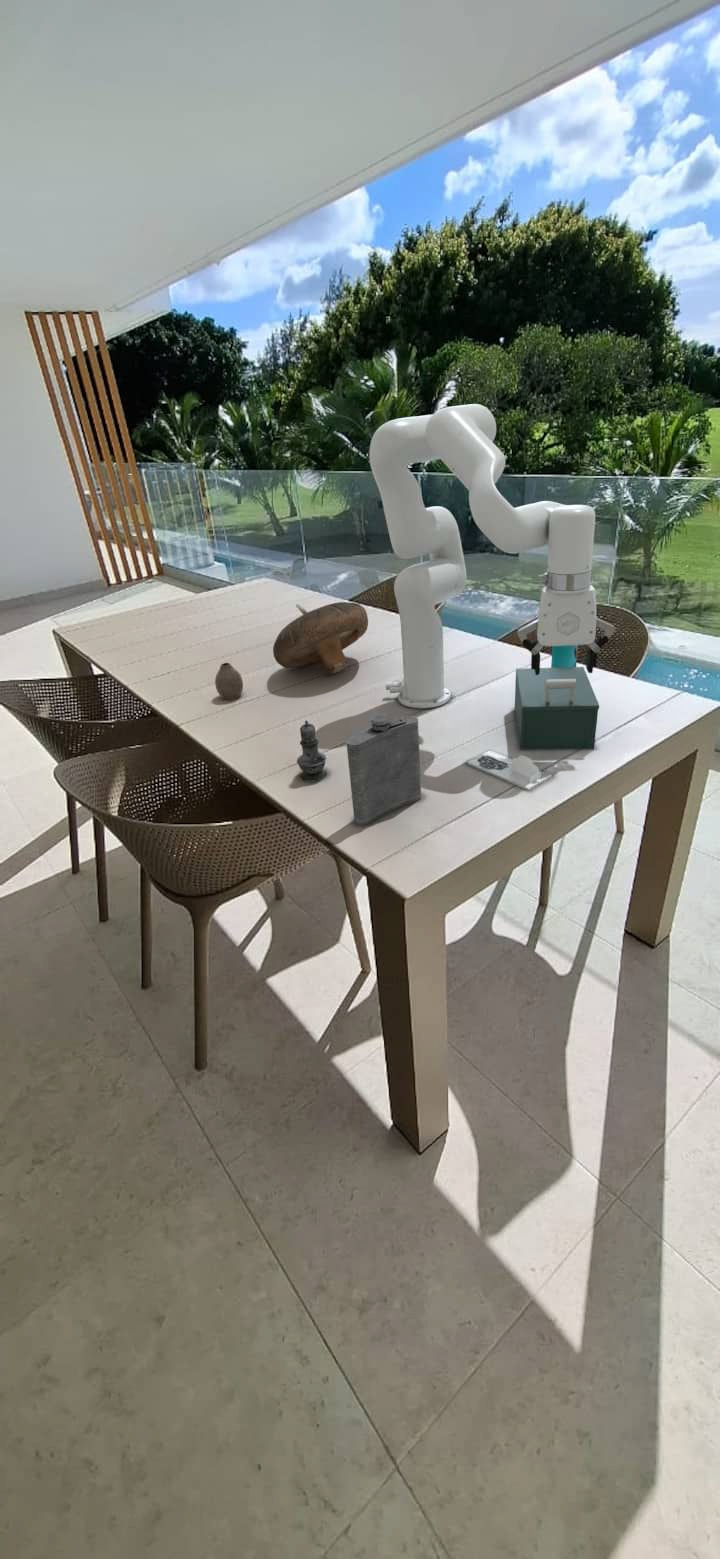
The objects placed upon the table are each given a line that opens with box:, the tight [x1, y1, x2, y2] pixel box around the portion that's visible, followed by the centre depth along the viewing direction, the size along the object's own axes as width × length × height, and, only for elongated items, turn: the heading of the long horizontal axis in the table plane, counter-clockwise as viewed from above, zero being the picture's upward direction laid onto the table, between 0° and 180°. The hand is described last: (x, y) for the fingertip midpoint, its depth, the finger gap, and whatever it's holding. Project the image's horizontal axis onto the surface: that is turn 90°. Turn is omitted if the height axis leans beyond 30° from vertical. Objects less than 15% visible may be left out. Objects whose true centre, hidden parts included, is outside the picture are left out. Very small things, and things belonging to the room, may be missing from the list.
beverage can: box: [550, 645, 579, 668], centre depth 159 cm, size 6×6×15 cm
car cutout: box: [466, 750, 553, 792], centre depth 127 cm, size 15×7×4 cm, turn 40°
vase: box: [214, 662, 244, 700], centre depth 171 cm, size 7×7×9 cm
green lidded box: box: [514, 674, 599, 750], centre depth 140 cm, size 20×14×9 cm
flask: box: [345, 712, 422, 826], centre depth 116 cm, size 4×14×18 cm, turn 125°
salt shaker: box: [296, 719, 328, 783], centre depth 130 cm, size 6×6×12 cm
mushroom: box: [272, 601, 369, 675], centre depth 180 cm, size 28×23×25 cm
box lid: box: [515, 666, 600, 711], centre depth 137 cm, size 21×14×5 cm
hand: (562, 671), depth 127 cm, fingers open, 9 cm apart
